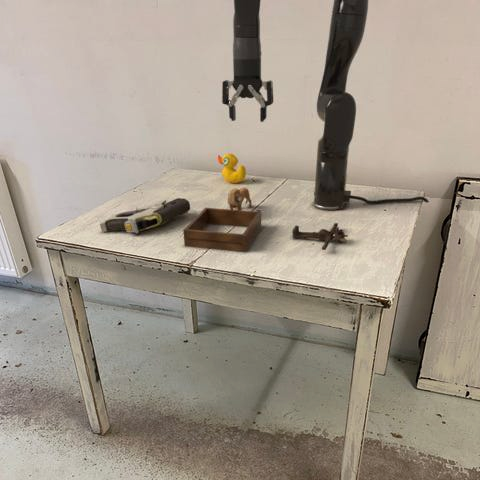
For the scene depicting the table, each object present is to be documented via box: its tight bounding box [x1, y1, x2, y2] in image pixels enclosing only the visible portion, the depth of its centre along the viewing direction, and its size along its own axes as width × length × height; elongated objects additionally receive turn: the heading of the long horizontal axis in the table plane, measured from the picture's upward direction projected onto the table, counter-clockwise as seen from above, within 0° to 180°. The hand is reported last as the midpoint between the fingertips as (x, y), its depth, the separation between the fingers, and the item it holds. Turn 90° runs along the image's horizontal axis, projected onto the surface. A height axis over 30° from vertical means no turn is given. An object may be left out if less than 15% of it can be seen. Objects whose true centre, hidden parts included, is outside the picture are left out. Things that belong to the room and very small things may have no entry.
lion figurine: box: [227, 187, 253, 210], centre depth 147 cm, size 15×5×9 cm, turn 165°
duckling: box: [217, 153, 247, 184], centre depth 174 cm, size 11×5×10 cm, turn 59°
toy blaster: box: [99, 197, 191, 234], centre depth 142 cm, size 6×25×15 cm
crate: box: [182, 207, 263, 253], centre depth 133 cm, size 17×18×4 cm
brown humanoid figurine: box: [291, 222, 349, 251], centre depth 129 cm, size 18×4×14 cm
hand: (247, 120), depth 138 cm, fingers open, 8 cm apart
